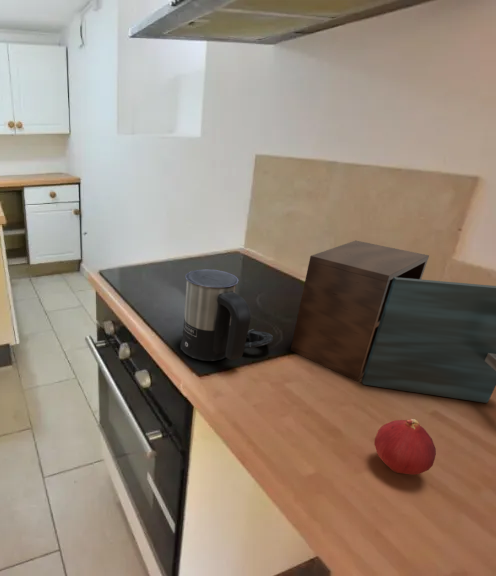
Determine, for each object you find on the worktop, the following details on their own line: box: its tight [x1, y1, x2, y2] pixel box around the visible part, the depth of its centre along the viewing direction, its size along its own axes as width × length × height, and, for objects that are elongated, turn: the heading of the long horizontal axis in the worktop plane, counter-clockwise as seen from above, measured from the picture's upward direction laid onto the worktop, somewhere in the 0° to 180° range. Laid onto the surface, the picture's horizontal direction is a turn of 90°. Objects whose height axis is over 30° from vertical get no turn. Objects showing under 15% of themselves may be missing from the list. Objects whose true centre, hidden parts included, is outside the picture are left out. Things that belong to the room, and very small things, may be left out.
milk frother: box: [179, 268, 274, 362], centre depth 71 cm, size 14×16×15 cm
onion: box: [373, 418, 437, 475], centre depth 45 cm, size 6×6×8 cm
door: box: [361, 277, 496, 404], centre depth 54 cm, size 8×17×19 cm, turn 74°
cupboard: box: [290, 240, 430, 382], centre depth 69 cm, size 12×17×19 cm
